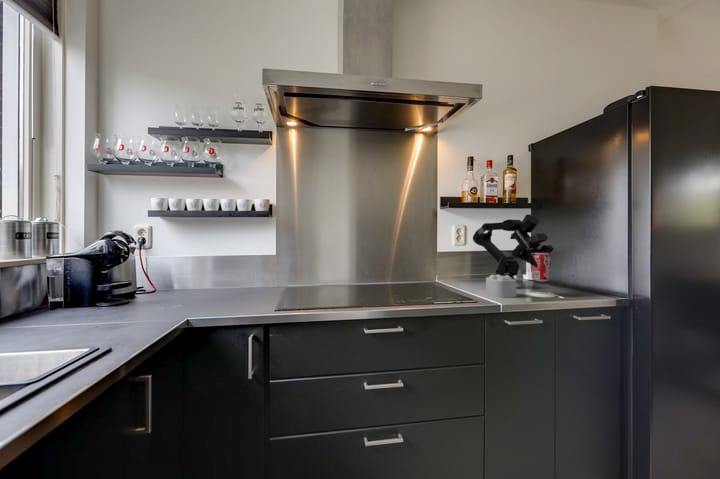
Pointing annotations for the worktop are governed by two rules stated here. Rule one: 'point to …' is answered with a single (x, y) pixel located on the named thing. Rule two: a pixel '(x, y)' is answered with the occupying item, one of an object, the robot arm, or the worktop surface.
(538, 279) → the soda can
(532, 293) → the coaster
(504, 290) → the grey bumpy block
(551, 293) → the tear line
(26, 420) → the worktop surface
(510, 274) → the robot arm
